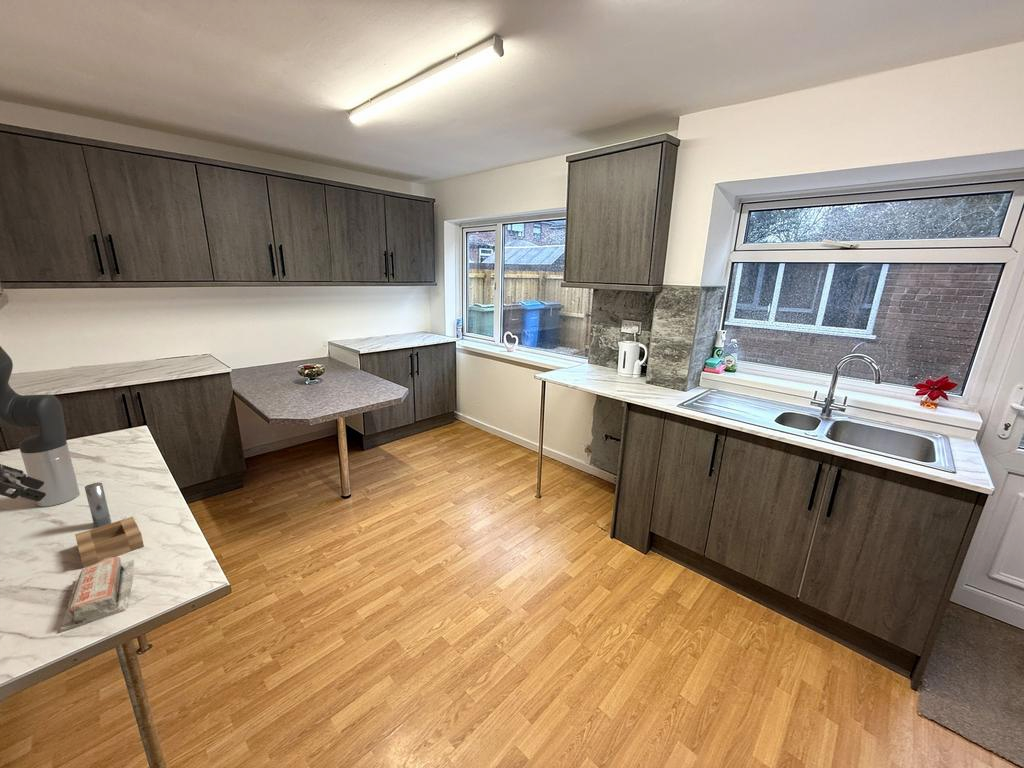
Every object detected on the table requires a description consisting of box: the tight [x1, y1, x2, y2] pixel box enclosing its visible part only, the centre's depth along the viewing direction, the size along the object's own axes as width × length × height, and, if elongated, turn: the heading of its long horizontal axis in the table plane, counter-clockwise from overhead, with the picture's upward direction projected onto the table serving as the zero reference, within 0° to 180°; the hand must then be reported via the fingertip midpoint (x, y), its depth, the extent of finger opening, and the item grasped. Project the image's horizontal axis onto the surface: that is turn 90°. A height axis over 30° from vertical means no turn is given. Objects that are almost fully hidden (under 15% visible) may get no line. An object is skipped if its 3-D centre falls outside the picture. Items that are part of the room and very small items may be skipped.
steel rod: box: [84, 482, 112, 528], centre depth 113 cm, size 3×3×12 cm
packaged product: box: [59, 556, 135, 633], centre depth 90 cm, size 18×5×10 cm
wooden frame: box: [74, 516, 145, 569], centre depth 105 cm, size 11×11×4 cm
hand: (42, 491), depth 104 cm, fingers open, 8 cm apart
